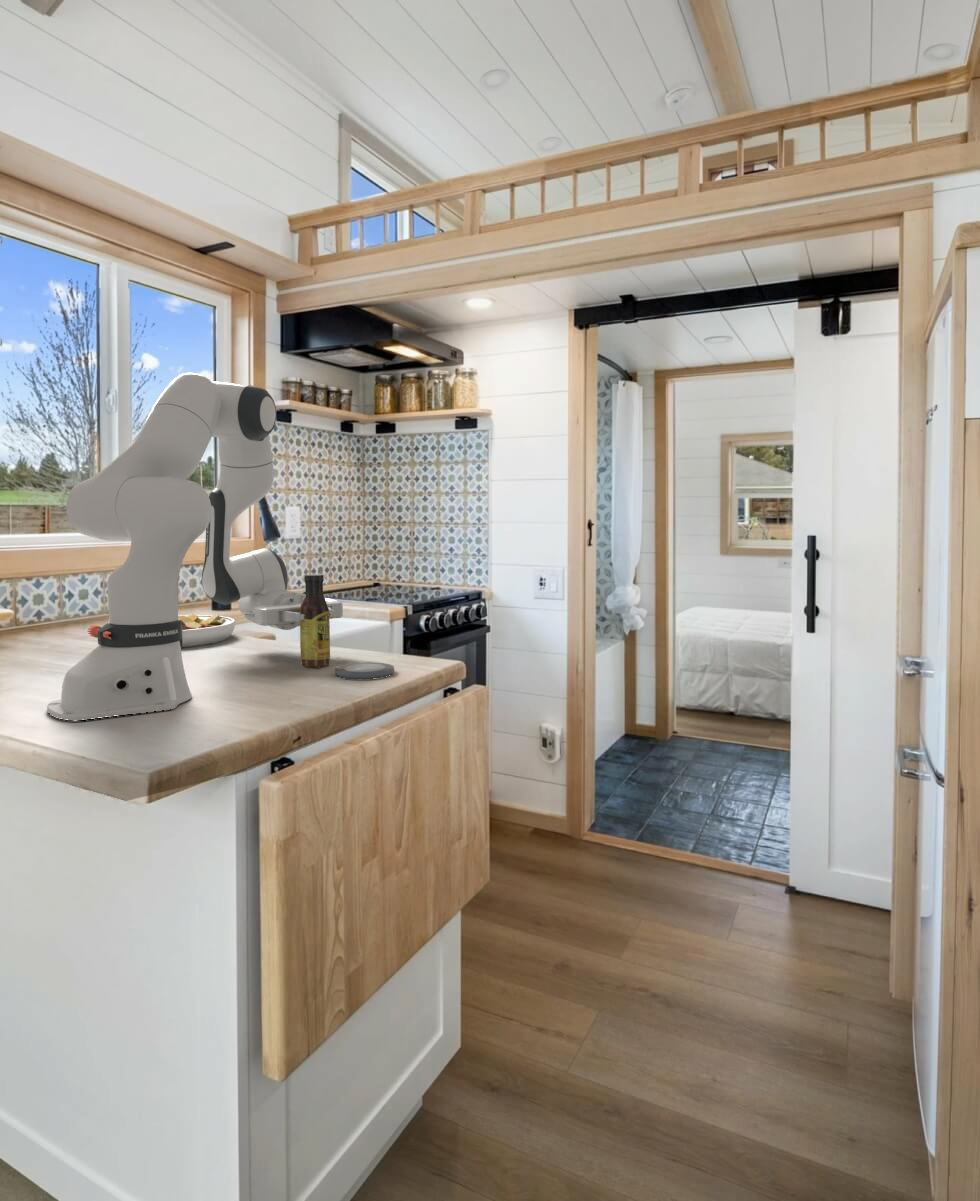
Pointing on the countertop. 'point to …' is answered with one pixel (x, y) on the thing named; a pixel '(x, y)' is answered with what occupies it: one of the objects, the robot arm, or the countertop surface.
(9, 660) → the countertop surface
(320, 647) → the sauce bottle
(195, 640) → the bowl
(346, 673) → the slate trivet
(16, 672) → the countertop surface
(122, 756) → the countertop surface
